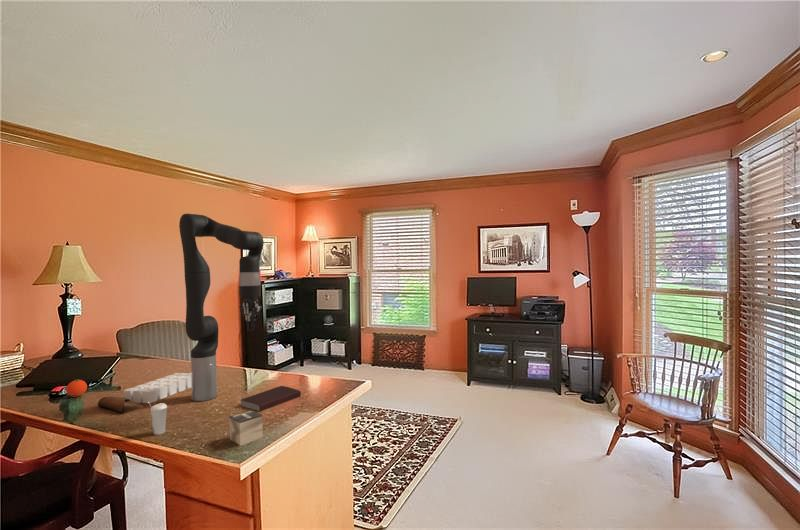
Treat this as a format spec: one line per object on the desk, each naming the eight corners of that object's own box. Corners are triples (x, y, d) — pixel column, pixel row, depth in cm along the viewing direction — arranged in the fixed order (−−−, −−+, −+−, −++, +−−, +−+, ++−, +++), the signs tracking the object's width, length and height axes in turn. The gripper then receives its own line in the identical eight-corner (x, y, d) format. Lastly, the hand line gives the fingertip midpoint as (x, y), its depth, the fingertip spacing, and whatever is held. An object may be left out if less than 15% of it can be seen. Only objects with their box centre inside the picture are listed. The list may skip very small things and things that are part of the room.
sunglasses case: (146, 406, 149) (136, 394, 146) (129, 421, 143) (118, 409, 140) (121, 400, 157) (111, 388, 154) (104, 414, 152) (94, 402, 149)
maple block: (239, 421, 113) (240, 445, 113) (262, 414, 118) (262, 437, 118) (229, 416, 118) (229, 439, 118) (251, 409, 123) (251, 431, 123)
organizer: (123, 390, 156) (190, 368, 190) (123, 402, 156) (190, 378, 190) (149, 392, 153) (213, 369, 187) (149, 404, 153) (213, 379, 186)
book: (301, 397, 156) (301, 389, 156) (260, 413, 140) (259, 404, 140) (281, 393, 163) (281, 385, 163) (239, 407, 147) (239, 398, 147)
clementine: (66, 395, 165) (66, 379, 165) (87, 392, 170) (87, 376, 170) (65, 400, 159) (65, 383, 159) (87, 396, 163) (86, 379, 163)
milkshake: (153, 430, 126) (152, 399, 126) (170, 429, 126) (169, 398, 126) (145, 436, 121) (144, 404, 121) (163, 435, 122) (162, 403, 122)
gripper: (268, 284, 143) (269, 331, 143) (250, 284, 151) (251, 328, 151) (249, 285, 137) (250, 333, 137) (231, 284, 146) (232, 330, 146)
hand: (250, 330), depth 144 cm, fingers closed
